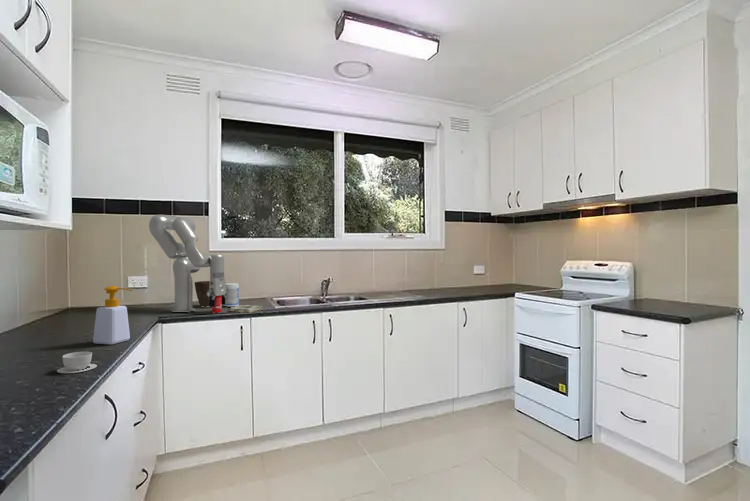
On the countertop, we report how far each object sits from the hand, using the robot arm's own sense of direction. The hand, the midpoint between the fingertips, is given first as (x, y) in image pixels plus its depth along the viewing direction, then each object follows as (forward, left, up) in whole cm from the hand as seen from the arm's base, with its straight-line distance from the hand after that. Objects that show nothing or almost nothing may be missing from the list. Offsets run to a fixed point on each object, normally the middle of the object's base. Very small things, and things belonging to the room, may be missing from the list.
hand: (217, 305), depth 236 cm
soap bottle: (+9, -75, -5) cm, 76 cm away
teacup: (+28, -107, -5) cm, 110 cm away
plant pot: (-20, +18, -5) cm, 28 cm away
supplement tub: (-7, +24, -5) cm, 26 cm away
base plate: (+11, +12, -4) cm, 17 cm away
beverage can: (0, 0, -5) cm, 5 cm away
